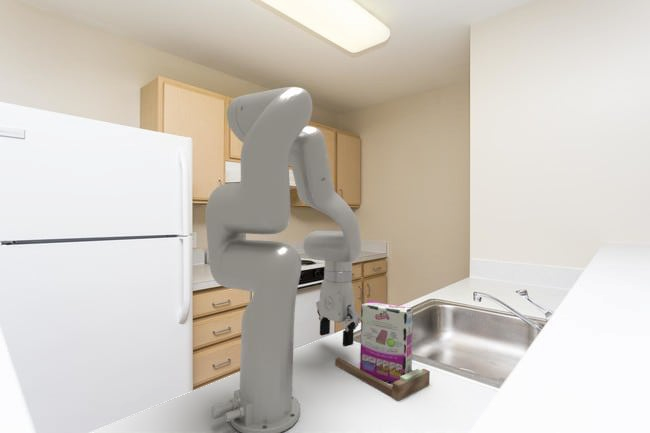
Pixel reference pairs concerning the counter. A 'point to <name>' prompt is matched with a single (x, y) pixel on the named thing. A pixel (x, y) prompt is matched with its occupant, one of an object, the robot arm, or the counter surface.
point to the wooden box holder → (398, 389)
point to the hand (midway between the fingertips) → (335, 339)
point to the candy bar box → (386, 340)
